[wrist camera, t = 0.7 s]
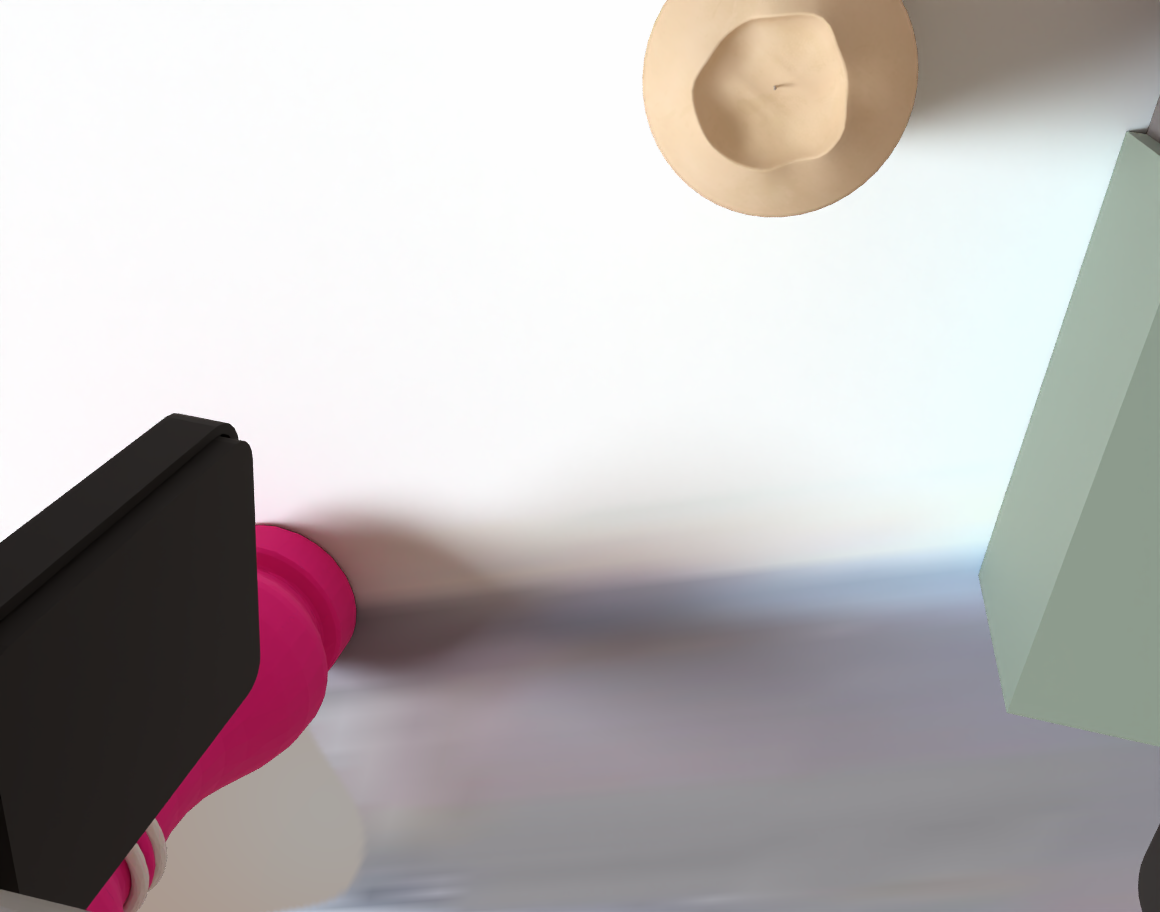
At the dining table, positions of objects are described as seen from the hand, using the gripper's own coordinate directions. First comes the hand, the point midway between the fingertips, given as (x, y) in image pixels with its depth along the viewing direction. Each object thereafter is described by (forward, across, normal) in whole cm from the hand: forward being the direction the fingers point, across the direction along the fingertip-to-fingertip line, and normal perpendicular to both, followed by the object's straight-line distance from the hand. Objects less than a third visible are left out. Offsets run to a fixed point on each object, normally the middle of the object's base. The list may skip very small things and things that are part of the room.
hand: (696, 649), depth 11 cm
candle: (+24, +1, -3) cm, 24 cm away
